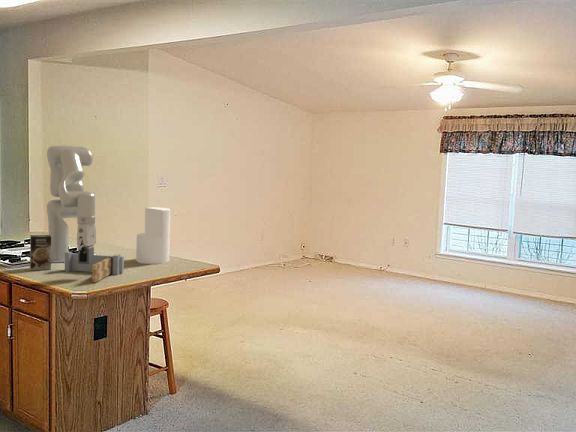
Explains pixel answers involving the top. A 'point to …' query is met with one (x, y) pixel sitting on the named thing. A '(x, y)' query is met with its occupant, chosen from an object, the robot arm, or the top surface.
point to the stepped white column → (154, 237)
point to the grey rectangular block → (88, 255)
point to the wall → (72, 263)
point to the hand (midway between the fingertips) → (85, 260)
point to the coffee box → (40, 252)
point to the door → (102, 269)
